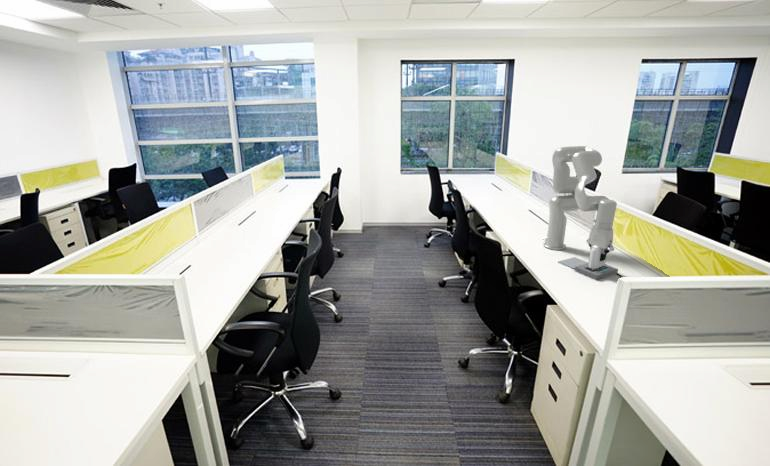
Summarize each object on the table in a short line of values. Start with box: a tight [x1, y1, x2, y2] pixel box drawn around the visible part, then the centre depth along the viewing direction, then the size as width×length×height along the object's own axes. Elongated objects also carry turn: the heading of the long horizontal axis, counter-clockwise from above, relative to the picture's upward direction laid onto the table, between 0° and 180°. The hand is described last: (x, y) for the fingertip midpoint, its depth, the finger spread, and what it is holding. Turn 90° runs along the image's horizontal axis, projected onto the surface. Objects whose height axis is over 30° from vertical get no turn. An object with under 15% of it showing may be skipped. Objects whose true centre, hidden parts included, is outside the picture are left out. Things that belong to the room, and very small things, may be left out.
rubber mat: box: [557, 256, 589, 270], centre depth 197 cm, size 10×13×1 cm
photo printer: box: [587, 245, 608, 270], centre depth 184 cm, size 10×4×12 cm, turn 121°
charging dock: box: [574, 263, 619, 281], centre depth 186 cm, size 12×16×3 cm
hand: (597, 258), depth 184 cm, fingers closed on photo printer, 4 cm apart
